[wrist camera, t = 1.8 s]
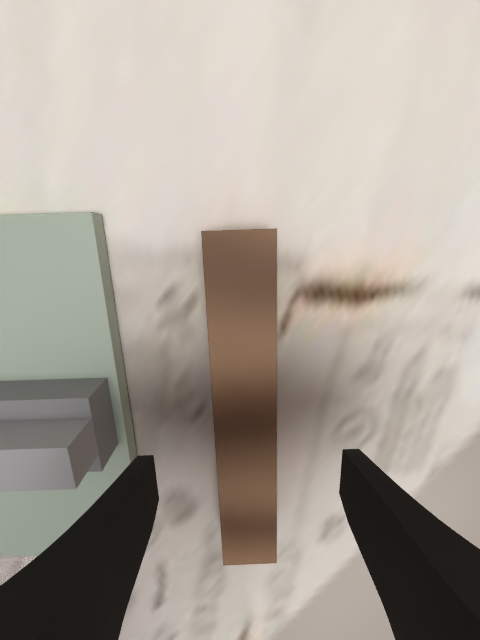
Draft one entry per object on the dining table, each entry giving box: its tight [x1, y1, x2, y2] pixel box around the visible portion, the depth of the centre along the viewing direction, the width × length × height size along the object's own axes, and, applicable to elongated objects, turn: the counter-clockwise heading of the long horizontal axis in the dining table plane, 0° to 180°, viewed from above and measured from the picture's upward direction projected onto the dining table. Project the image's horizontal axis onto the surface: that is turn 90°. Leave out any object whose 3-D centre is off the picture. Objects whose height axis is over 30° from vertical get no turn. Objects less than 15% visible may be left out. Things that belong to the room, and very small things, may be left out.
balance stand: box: [0, 212, 137, 557], centre depth 14 cm, size 20×10×5 cm, turn 2°
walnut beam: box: [201, 229, 277, 565], centre depth 15 cm, size 18×3×3 cm, turn 2°
